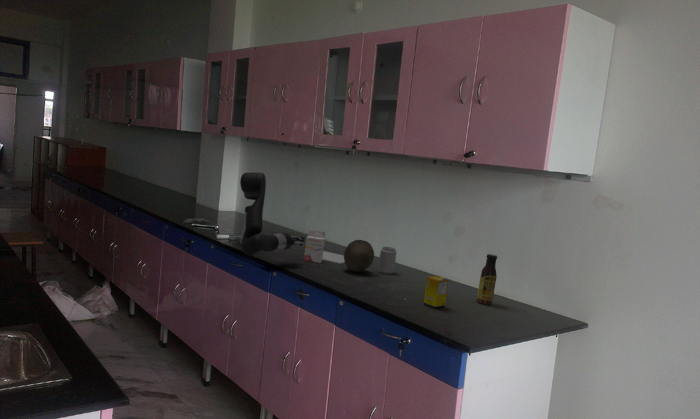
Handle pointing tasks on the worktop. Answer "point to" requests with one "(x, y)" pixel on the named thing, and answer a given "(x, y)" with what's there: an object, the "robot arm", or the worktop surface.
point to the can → (387, 260)
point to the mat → (333, 257)
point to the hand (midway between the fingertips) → (303, 239)
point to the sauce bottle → (487, 281)
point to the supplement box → (435, 291)
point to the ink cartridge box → (314, 246)
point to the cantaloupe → (358, 255)
